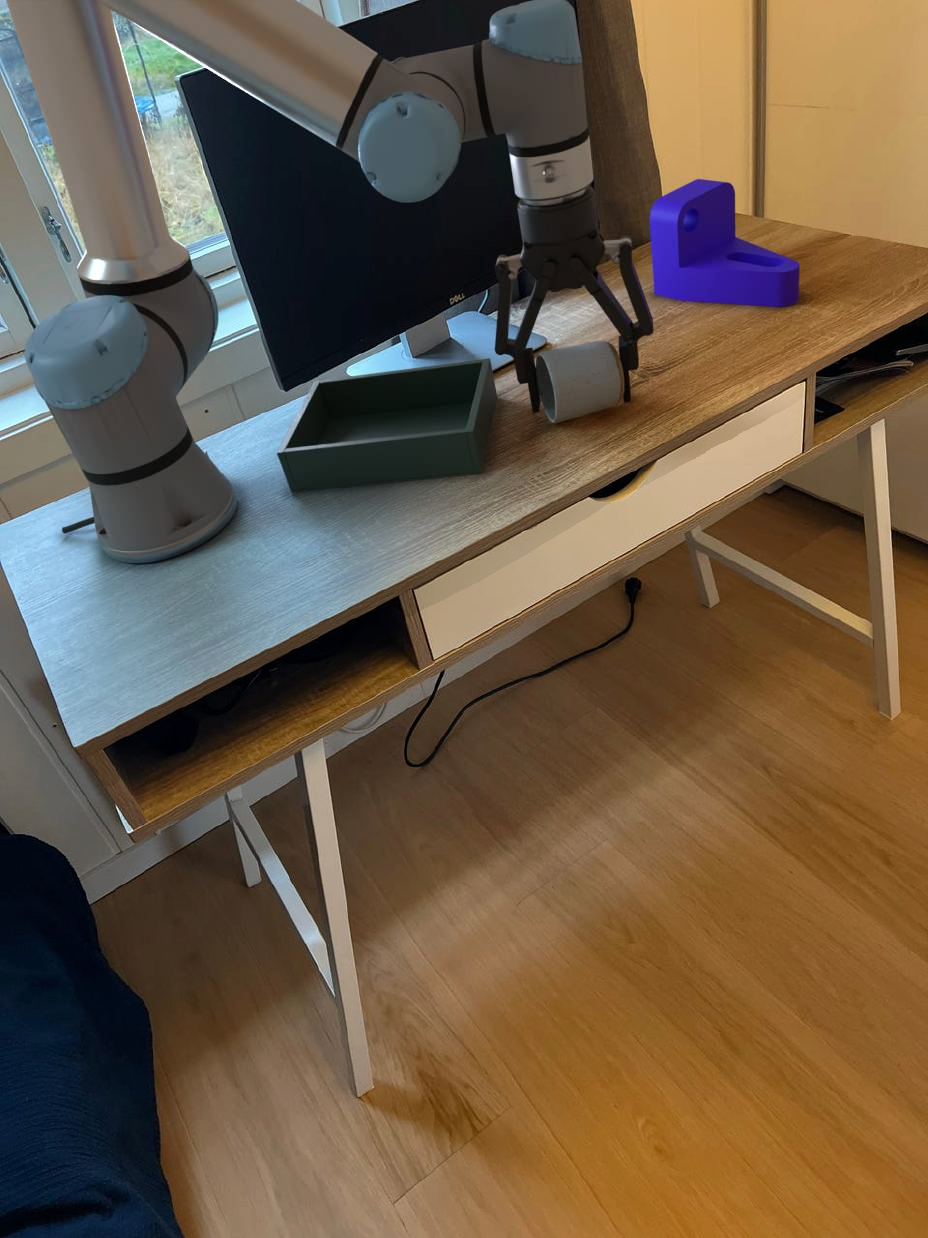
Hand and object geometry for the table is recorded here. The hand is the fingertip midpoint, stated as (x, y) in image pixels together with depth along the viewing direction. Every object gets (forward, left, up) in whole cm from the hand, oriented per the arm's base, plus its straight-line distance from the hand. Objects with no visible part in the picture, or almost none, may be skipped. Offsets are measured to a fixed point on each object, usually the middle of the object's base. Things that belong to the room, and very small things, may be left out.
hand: (581, 401), depth 103 cm
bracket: (+19, +27, -1) cm, 33 cm away
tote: (-21, -3, -1) cm, 21 cm away
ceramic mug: (-1, 0, -1) cm, 1 cm away
